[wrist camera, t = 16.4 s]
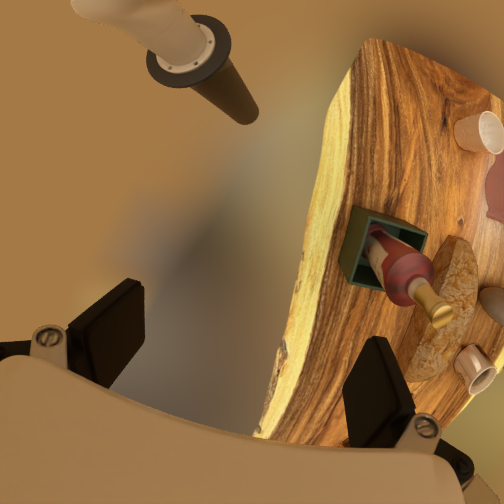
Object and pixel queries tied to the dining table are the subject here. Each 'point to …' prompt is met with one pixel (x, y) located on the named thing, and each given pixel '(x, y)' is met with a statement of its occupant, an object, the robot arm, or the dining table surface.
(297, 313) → the dining table surface
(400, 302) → the liquor
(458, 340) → the bread
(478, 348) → the mug
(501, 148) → the white cup
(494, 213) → the clip
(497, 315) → the planter
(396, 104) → the dining table surface
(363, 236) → the green square box
